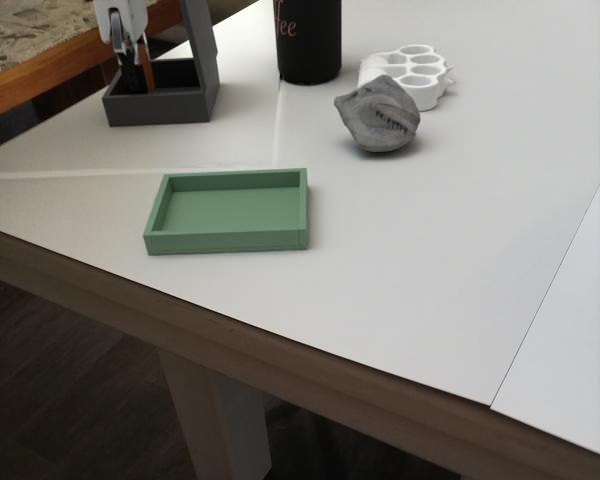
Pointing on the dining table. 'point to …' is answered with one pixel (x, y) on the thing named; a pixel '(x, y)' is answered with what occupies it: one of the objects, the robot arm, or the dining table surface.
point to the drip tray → (229, 212)
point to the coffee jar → (308, 39)
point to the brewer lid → (200, 37)
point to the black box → (163, 97)
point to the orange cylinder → (145, 64)
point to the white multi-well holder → (410, 72)
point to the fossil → (379, 115)
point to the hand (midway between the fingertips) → (140, 86)
